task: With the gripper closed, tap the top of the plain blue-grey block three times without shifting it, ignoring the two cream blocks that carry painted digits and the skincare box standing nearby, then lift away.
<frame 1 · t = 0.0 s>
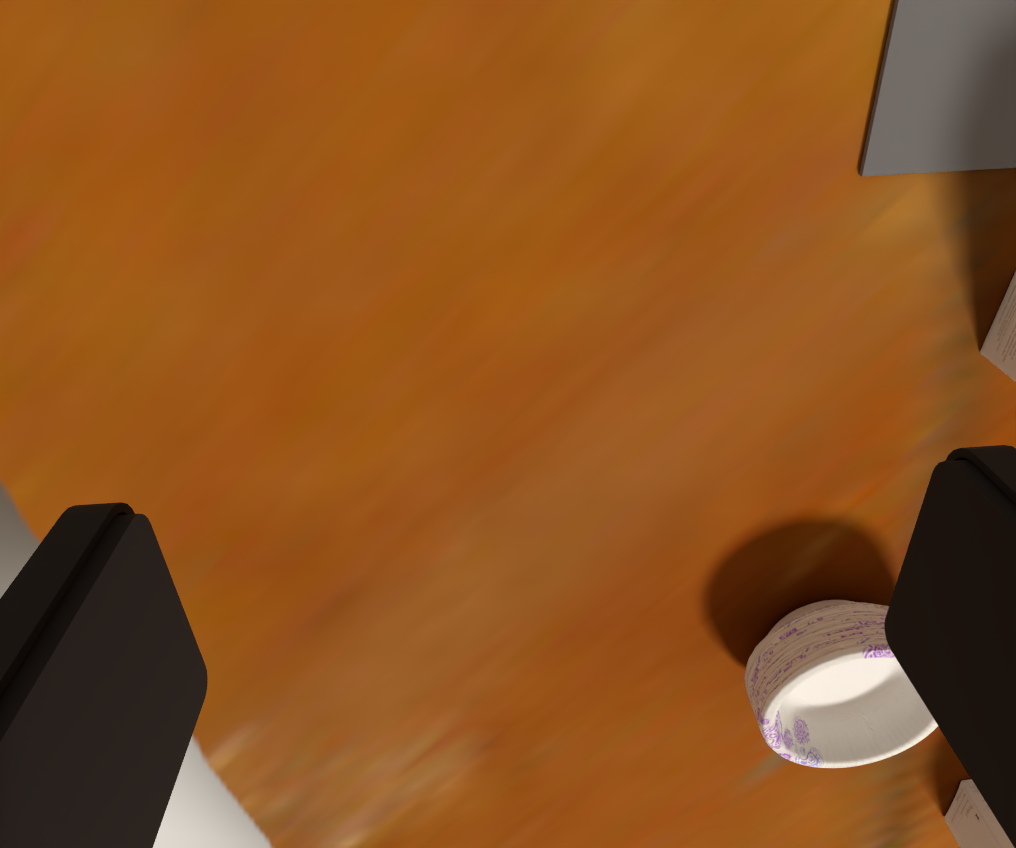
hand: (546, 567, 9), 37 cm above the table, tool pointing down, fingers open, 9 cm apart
supplement box: (982, 794, 80), on the table
paper bowls: (817, 636, 65), on the table
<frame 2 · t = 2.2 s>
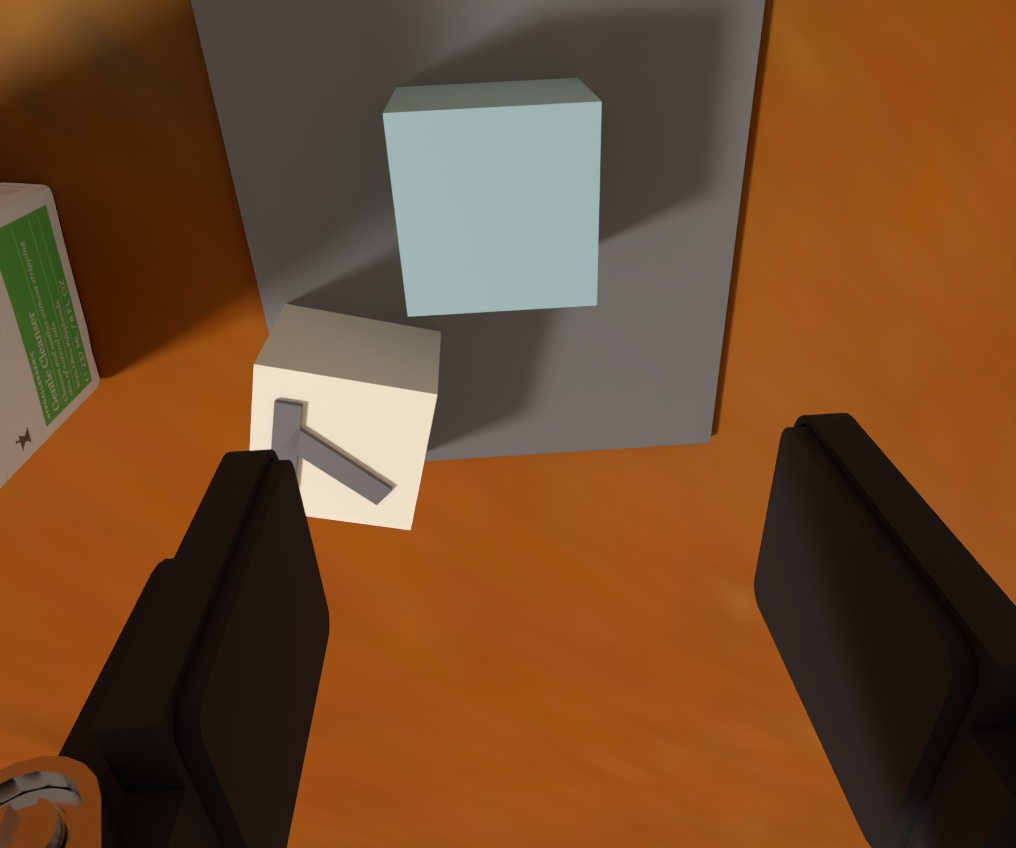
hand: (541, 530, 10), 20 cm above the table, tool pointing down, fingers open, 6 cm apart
mat: (491, 172, 26), on the table
digit block seven: (355, 384, 30), resting on mat
plain block: (494, 194, 24), on the mat
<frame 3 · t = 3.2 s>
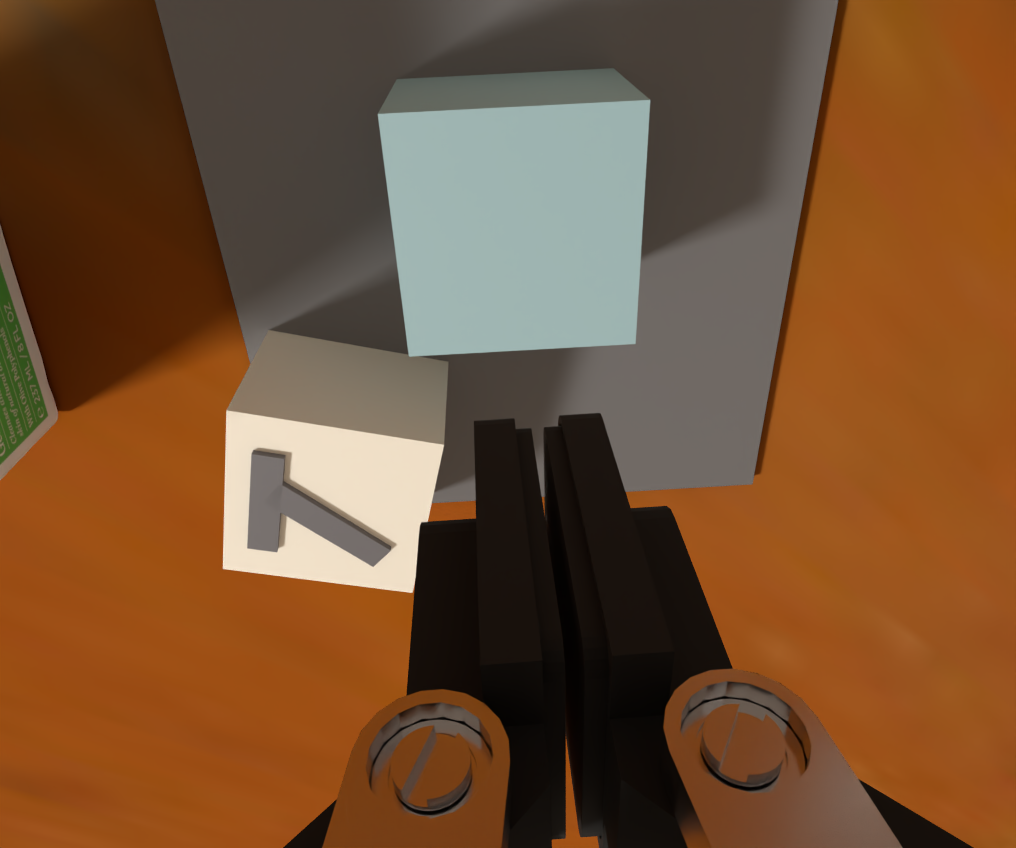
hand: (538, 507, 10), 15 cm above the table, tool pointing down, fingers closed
mat: (509, 180, 22), on the table
digit block seven: (350, 419, 26), resting on mat
plain block: (513, 208, 20), on the mat
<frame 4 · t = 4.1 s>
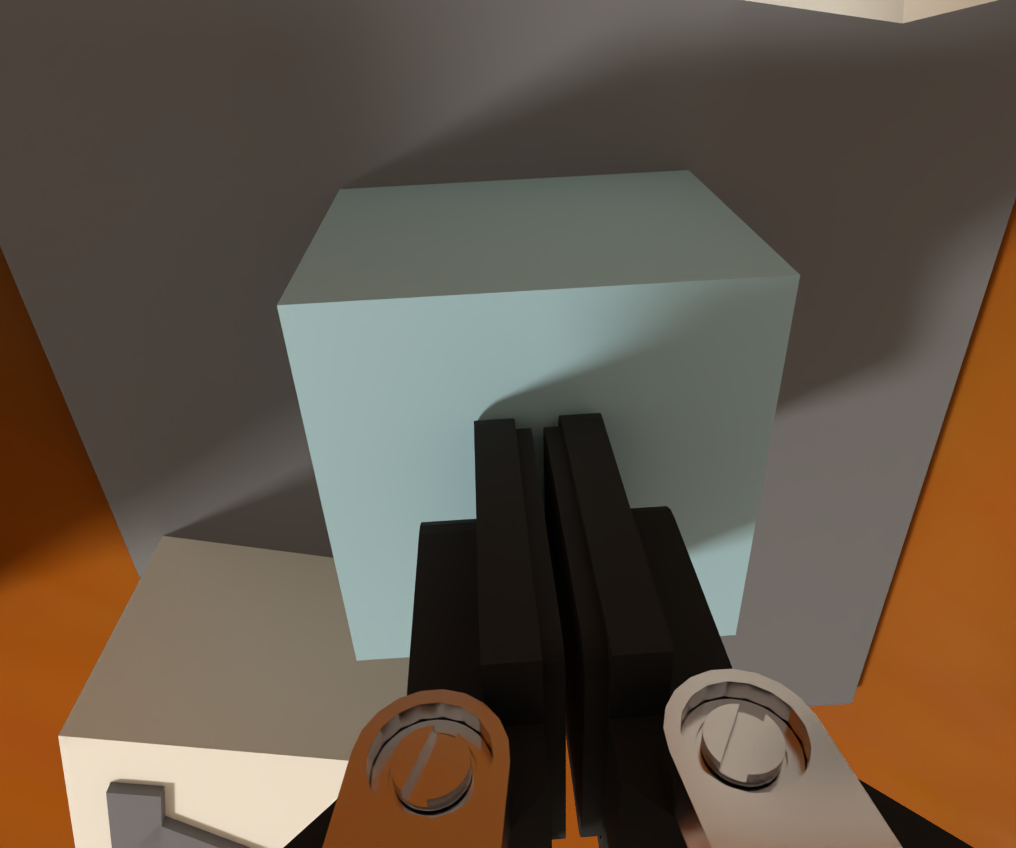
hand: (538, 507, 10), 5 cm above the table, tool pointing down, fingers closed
mat: (519, 329, 15), on the table
digit block seven: (291, 642, 18), resting on mat
plain block: (530, 403, 12), on the mat, touching gripper
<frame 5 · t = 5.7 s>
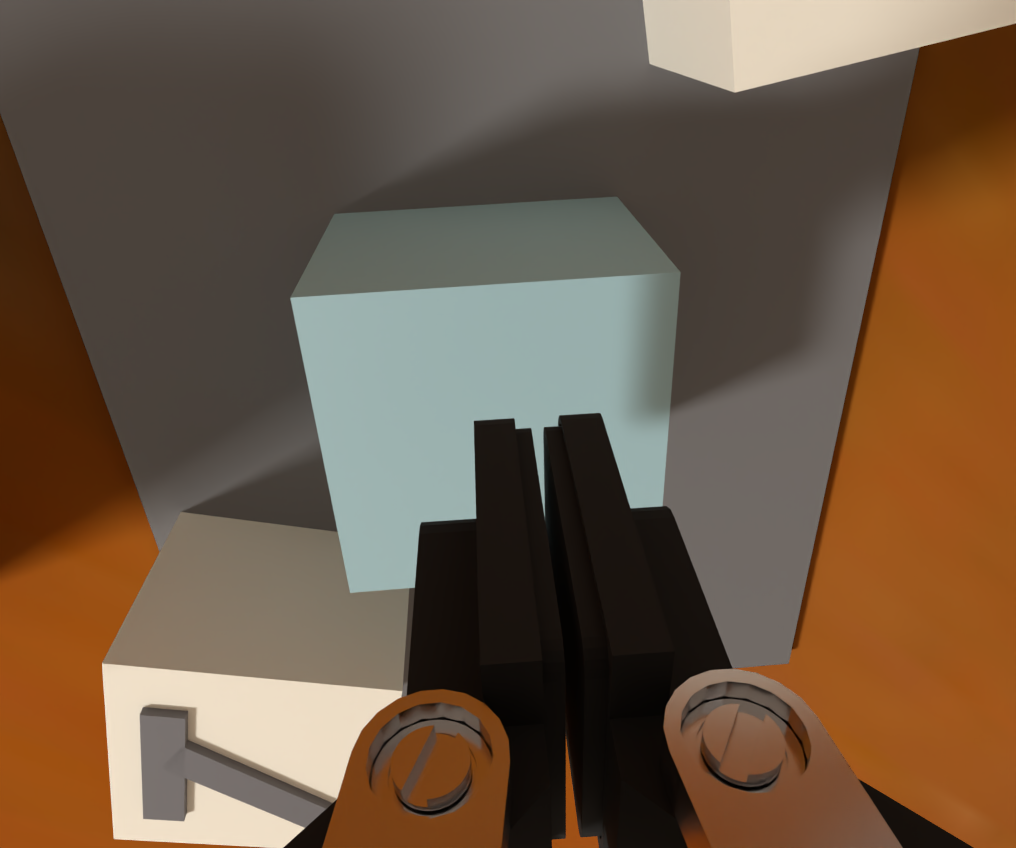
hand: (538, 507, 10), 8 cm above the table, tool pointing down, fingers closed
mat: (484, 329, 17), on the table
digit block seven: (291, 609, 21), resting on mat
plain block: (490, 384, 15), on the mat
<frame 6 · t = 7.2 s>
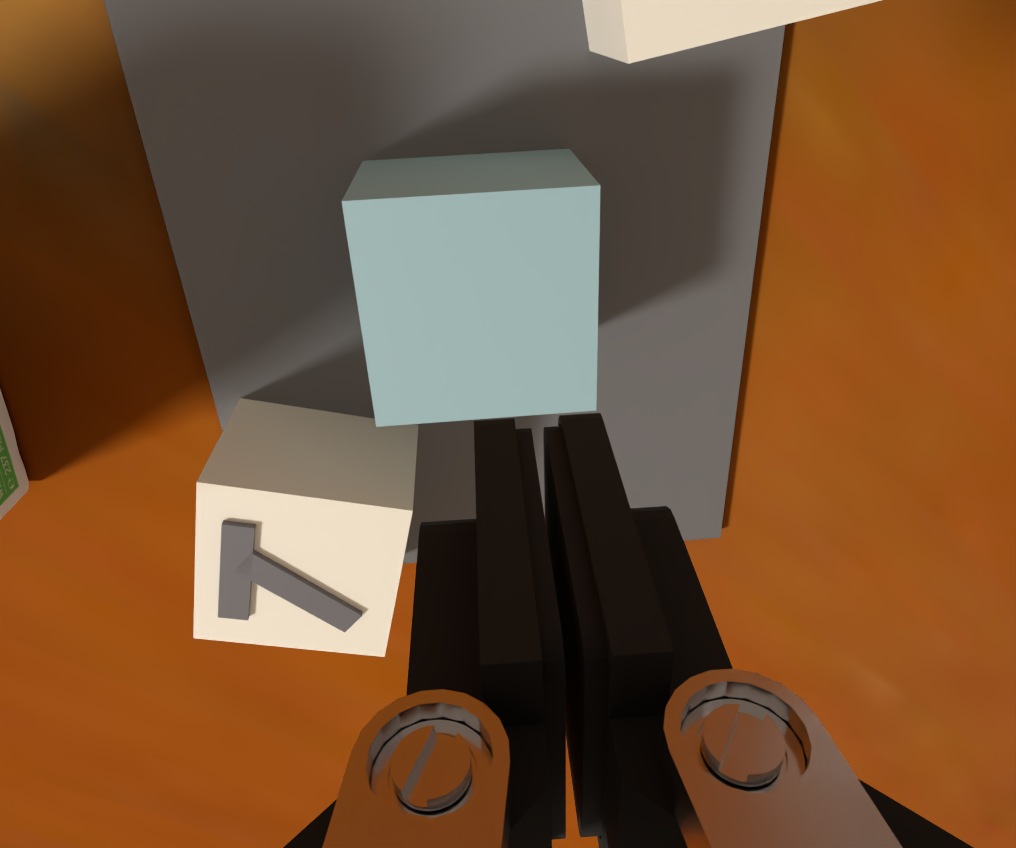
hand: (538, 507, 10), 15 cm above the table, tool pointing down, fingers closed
mat: (473, 252, 23), on the table
digit block seven: (322, 483, 27), resting on mat
plain block: (476, 282, 21), on the mat
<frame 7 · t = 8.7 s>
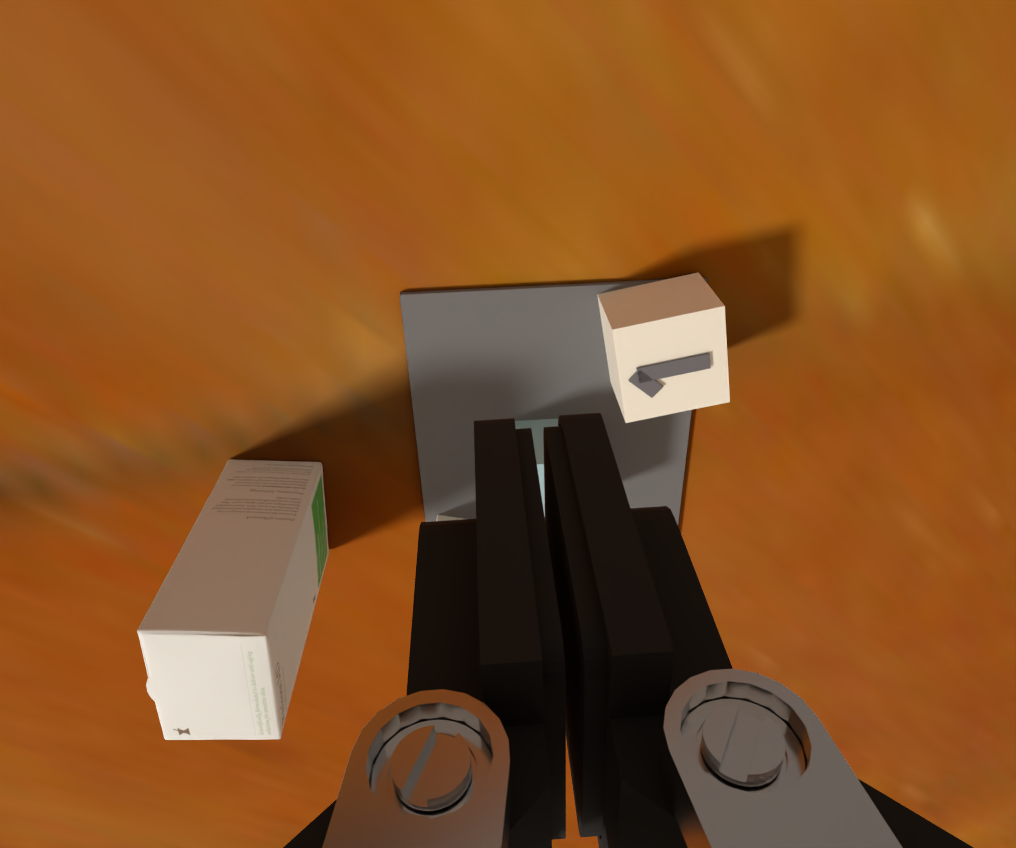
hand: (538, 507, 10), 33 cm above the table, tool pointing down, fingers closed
skincare box: (278, 503, 51), on the table
mat: (553, 453, 50), on the table
digit block one: (652, 329, 45), resting on mat
plain block: (558, 479, 47), on the mat
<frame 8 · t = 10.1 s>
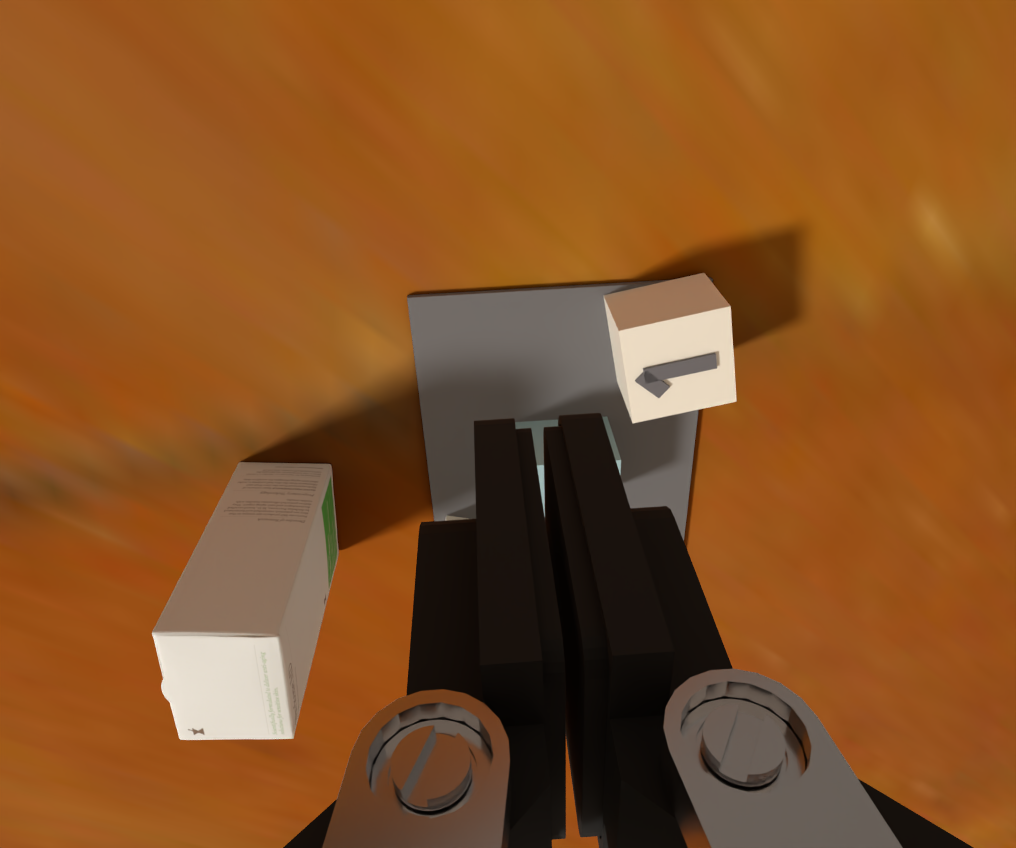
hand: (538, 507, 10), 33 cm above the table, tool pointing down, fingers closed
skincare box: (288, 504, 51), on the table
mat: (560, 453, 50), on the table
digit block one: (659, 329, 45), resting on mat
plain block: (565, 479, 47), on the mat
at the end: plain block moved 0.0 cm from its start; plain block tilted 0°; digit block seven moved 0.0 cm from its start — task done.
